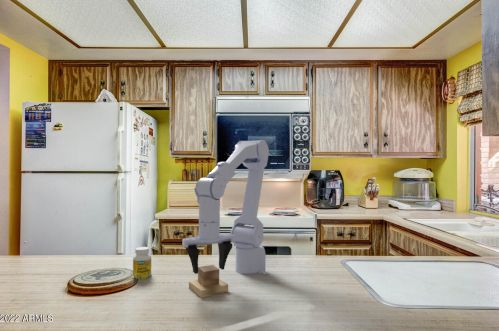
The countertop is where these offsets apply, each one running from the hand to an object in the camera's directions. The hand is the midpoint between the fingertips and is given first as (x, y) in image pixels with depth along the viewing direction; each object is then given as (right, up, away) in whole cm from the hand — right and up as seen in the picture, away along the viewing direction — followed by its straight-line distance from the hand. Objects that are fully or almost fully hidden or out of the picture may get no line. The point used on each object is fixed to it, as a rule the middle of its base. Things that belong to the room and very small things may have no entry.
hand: (208, 270), depth 85 cm
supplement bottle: (-22, -6, +10) cm, 25 cm away
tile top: (0, -5, 0) cm, 5 cm away
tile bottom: (0, -7, 0) cm, 7 cm away
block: (0, -3, 0) cm, 3 cm away
